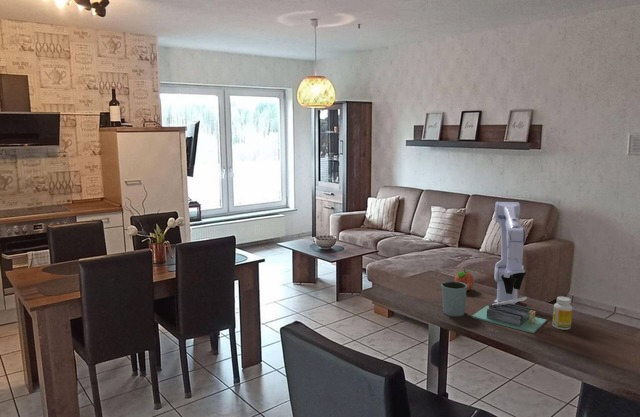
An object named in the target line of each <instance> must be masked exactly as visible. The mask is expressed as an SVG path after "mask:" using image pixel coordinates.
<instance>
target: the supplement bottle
mask: <svg viewBox="0 0 640 417" xmlns="http://www.w3.org/2000/svg"><path fill="white" fill-rule="evenodd" d="M571 302H572V299H571V298H570V297H568V296H562V295H560V296H557V297H556V303H554V304H553V311H552V312H553V314H552V322H551V324H552V326H553V327H554V328H555V329H558V330H563V331H566V330H568V331H569V330H570V329H571V328H572V318H573V306H572V305H571Z"/></svg>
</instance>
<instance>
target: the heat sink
mask: <svg viewBox="0 0 640 417" xmlns="http://www.w3.org/2000/svg"><path fill="white" fill-rule="evenodd" d="M498 302H501V301H498ZM498 302H492V304H494V303H498ZM492 304H491V303H489V304H488V306H489V309H487V318H488V319H492V320H496V321H499V322H503V323H507V324H511V325H515V326H519V327H520V326H521V325H523V324H524V323H525V322H526V321H527V320H528V319H529V325H533V324H534V323H535V317H536V314H537V313H536V310H532V308H531V307H526V306H522V305H518V304H510V303H509V304H504V305H500V306H495V307H493V305H492Z"/></svg>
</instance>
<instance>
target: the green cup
mask: <svg viewBox="0 0 640 417" xmlns="http://www.w3.org/2000/svg"><path fill="white" fill-rule="evenodd" d="M440 288H441V296H442V297H441V299H442V312H443V314H444V315H446V316H449V317H463V316H464V315H465V312H466V301H467V285H466V284H465V283H462V282H457V281H455V280H447V281H444V282H442V283H441V287H440Z"/></svg>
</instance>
